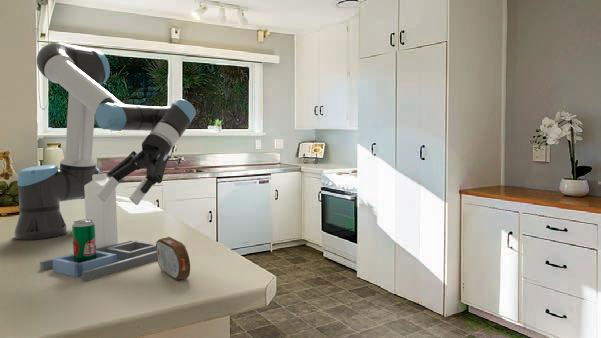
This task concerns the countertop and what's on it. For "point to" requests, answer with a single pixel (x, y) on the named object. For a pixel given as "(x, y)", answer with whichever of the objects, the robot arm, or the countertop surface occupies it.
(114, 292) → the countertop surface
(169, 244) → the tin
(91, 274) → the grey railed frame
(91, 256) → the soda can
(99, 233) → the milk
